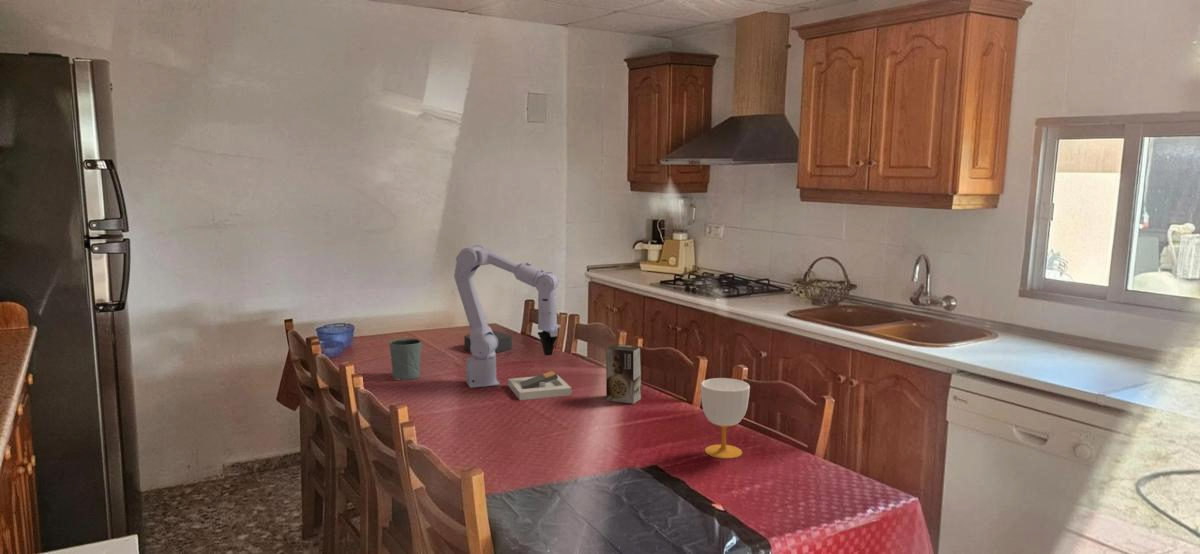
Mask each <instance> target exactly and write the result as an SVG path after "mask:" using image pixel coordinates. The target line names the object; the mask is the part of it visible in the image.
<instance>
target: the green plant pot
mask: <svg viewBox="0 0 1200 554" xmlns="http://www.w3.org/2000/svg"><path fill="white" fill-rule="evenodd" d="M388 343H389V350H390V361H391V370H392V371H391V372H392V379H393V378H395V379H400V380H407V381H409V380H408V379H414V380H416V379H415V378H417V377H418V378H419V377H420V373H421V372H420V371H421V369H420V368H421V367H420V365H421V354H422V353H421V351H422V343H423V342H422V340H421V339H419V338H396V339H392V340H390V341H389V342H388ZM418 378H417V379H418ZM395 379H394V380H395ZM400 380H399V381H400Z"/></svg>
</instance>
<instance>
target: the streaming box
mask: <svg viewBox="0 0 1200 554" xmlns="http://www.w3.org/2000/svg"><path fill="white" fill-rule="evenodd" d="M492 332H493V334H494V335H495V336H496V337H497V339H498V347H497V348H496V350H495V353H496V354H497V353H501V352H506V351H510V350H512V349H513V335H512V334H508V333H503V332H500V331H494V330H492ZM463 339H464V350H466V351H468V352H471V350H470V345H471V341H470V334H466V335H464V338H463Z"/></svg>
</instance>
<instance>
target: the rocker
mask: <svg viewBox="0 0 1200 554" xmlns="http://www.w3.org/2000/svg"><path fill="white" fill-rule="evenodd" d="M557 375H558V374H557V373H556V372H555V371H554V370H551V371H547V372H544V373H542V374H539V375H536V377H534V376H532V377H533V378H531V379H528V380H525V381H522V382H520V385H521V387H522V388H523V389H529V388H532V387H535V386H538V385H539V382H545V383H546V382H549V381H552V380H554V379H557V378H558V376H559V375H558V376H557Z"/></svg>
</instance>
